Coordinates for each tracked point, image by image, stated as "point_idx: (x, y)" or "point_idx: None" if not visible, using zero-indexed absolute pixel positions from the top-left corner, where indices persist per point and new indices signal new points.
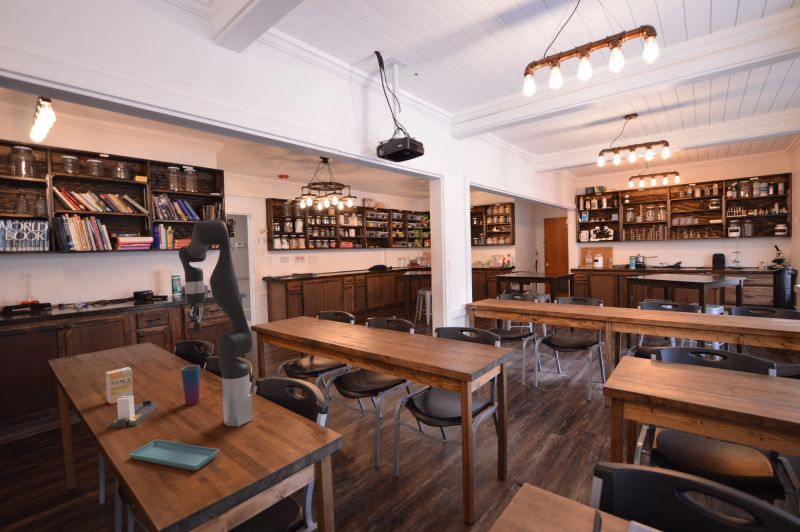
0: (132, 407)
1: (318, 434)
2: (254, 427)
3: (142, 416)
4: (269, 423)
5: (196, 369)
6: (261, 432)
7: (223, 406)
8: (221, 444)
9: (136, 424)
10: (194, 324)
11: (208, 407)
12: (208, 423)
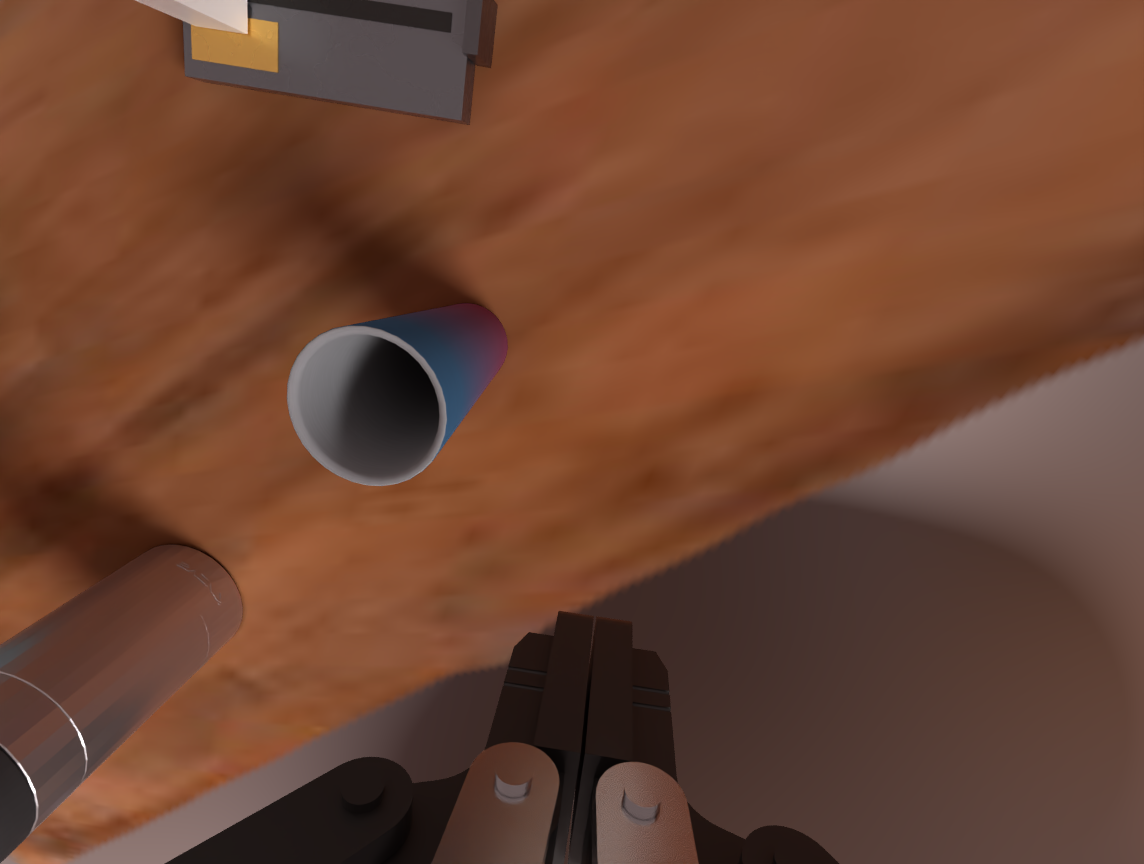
0: (176, 7)
1: (50, 833)
2: None
3: (256, 87)
4: None
5: (328, 463)
6: None
7: (84, 593)
8: None
9: (200, 80)
10: (490, 744)
11: None
12: (179, 475)
